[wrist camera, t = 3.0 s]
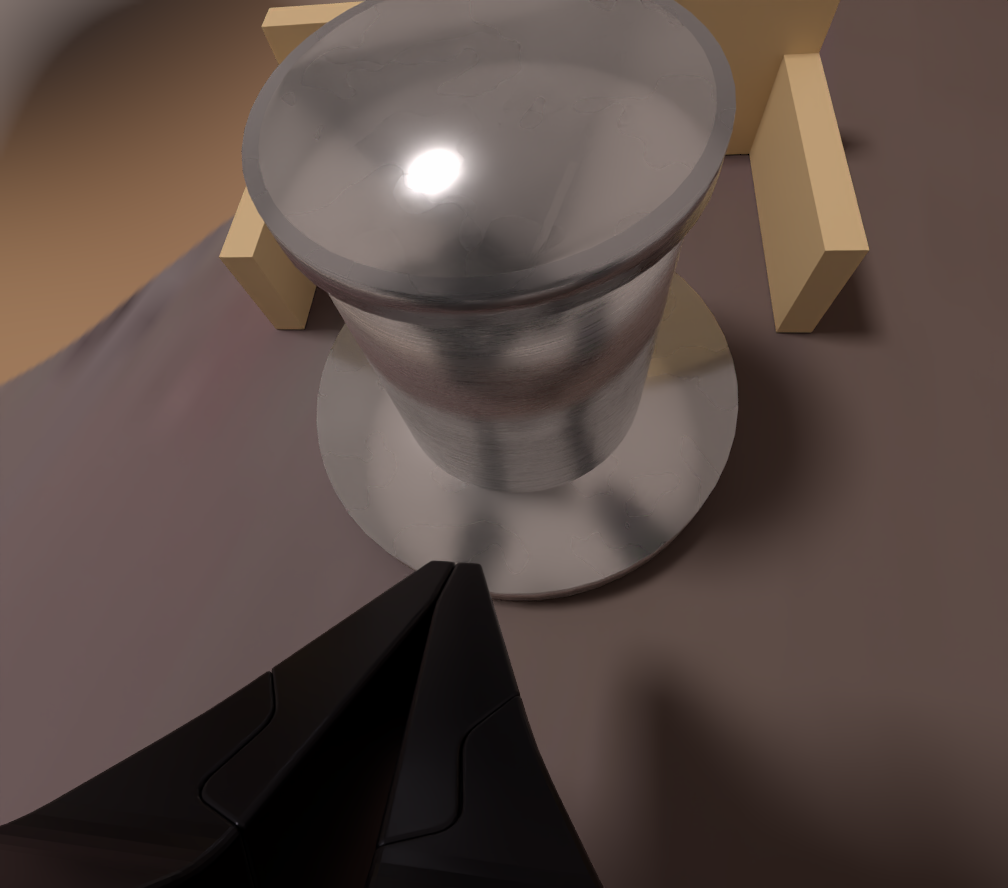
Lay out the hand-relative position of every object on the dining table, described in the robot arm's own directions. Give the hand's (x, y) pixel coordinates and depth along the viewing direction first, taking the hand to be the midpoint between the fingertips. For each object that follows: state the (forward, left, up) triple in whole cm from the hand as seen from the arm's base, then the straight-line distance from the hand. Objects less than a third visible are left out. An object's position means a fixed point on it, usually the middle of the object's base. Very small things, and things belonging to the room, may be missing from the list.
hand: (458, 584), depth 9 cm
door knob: (+8, 0, -8) cm, 11 cm away
